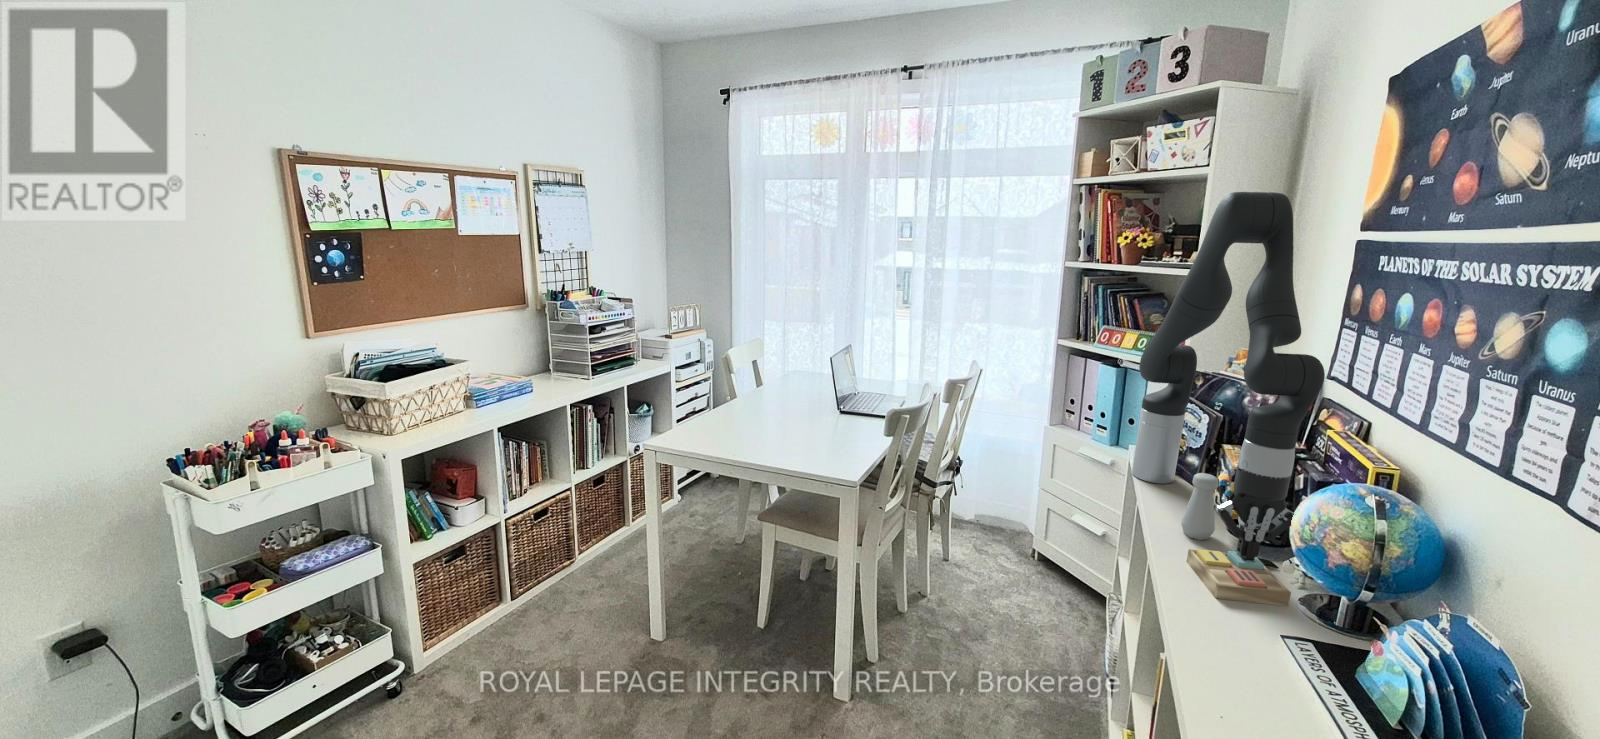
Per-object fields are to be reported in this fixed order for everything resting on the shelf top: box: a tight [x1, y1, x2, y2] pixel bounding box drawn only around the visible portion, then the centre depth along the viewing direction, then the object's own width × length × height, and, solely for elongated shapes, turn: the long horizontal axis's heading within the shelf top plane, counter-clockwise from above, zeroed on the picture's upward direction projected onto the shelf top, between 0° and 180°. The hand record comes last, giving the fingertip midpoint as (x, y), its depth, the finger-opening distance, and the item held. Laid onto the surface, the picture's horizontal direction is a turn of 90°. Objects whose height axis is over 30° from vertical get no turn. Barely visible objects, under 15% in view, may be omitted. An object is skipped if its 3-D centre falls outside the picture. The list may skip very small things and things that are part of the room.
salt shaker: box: [1180, 472, 1219, 541], centre depth 125 cm, size 6×6×13 cm
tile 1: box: [1195, 548, 1231, 567], centre depth 113 cm, size 4×4×2 cm
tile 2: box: [1226, 550, 1265, 570], centre depth 112 cm, size 4×4×2 cm
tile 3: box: [1227, 568, 1265, 588], centre depth 107 cm, size 4×4×2 cm
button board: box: [1186, 548, 1292, 607], centre depth 110 cm, size 12×11×2 cm
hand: (1246, 557), depth 112 cm, fingers closed
